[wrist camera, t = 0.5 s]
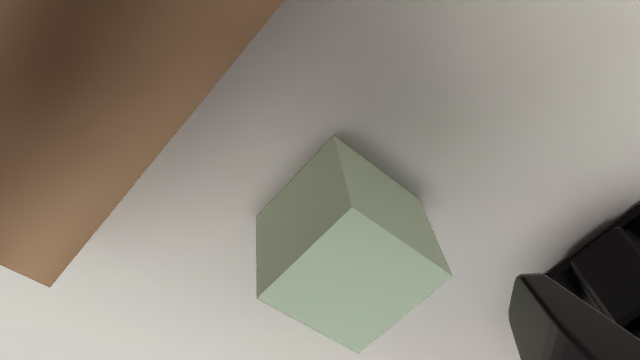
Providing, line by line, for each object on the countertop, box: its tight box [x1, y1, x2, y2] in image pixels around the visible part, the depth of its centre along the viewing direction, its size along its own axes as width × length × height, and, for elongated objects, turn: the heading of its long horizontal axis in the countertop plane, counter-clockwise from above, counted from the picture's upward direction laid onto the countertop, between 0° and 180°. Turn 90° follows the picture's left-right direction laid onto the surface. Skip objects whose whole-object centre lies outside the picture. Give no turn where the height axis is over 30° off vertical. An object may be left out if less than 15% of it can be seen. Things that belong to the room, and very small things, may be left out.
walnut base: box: [0, 0, 283, 287], centre depth 18 cm, size 8×16×3 cm, turn 139°
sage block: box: [256, 136, 452, 353], centre depth 22 cm, size 5×5×5 cm
